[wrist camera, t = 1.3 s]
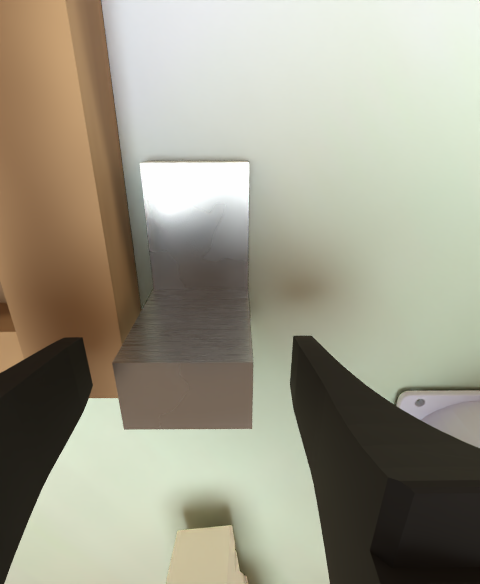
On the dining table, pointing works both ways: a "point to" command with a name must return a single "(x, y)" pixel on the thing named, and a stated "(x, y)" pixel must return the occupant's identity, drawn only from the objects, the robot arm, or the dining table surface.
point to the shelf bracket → (205, 557)
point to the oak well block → (62, 189)
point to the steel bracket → (192, 303)
